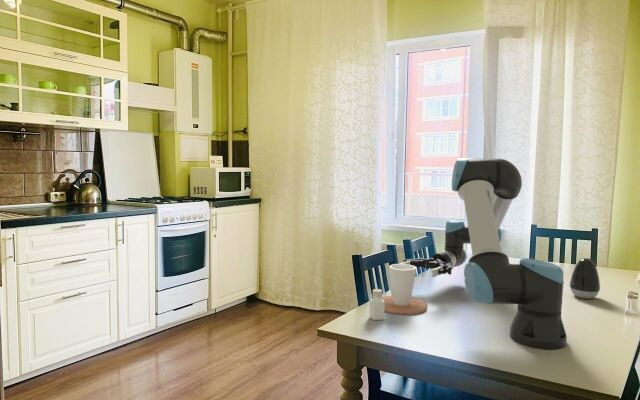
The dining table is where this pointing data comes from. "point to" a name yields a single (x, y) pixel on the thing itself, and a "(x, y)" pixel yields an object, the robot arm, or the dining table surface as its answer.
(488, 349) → the dining table surface
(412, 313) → the terracotta plate
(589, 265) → the dark grey egg shape
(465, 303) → the dining table surface
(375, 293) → the pepper shaker
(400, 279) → the foam cup
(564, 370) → the dining table surface
